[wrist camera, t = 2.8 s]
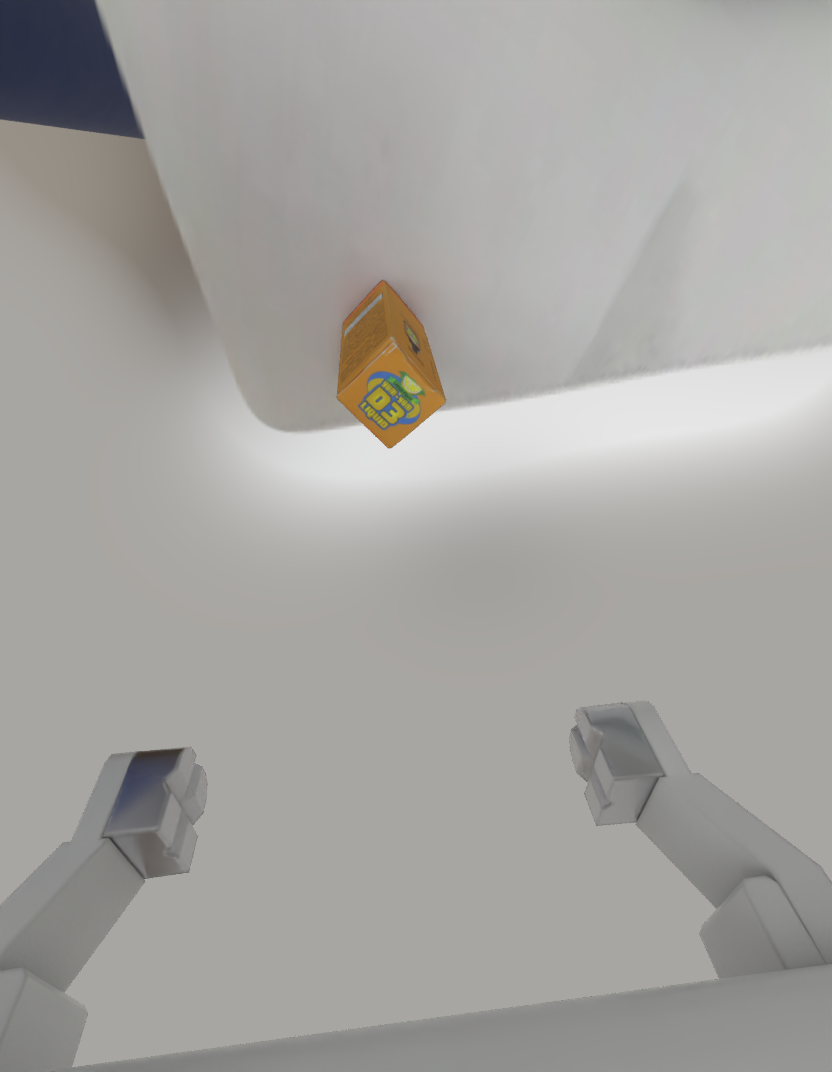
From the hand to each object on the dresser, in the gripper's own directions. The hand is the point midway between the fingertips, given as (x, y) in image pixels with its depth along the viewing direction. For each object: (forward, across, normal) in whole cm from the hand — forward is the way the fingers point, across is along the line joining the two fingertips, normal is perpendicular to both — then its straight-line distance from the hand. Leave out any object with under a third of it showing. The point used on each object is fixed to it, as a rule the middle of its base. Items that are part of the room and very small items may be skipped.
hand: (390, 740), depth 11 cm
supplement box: (+22, -1, -3) cm, 22 cm away
